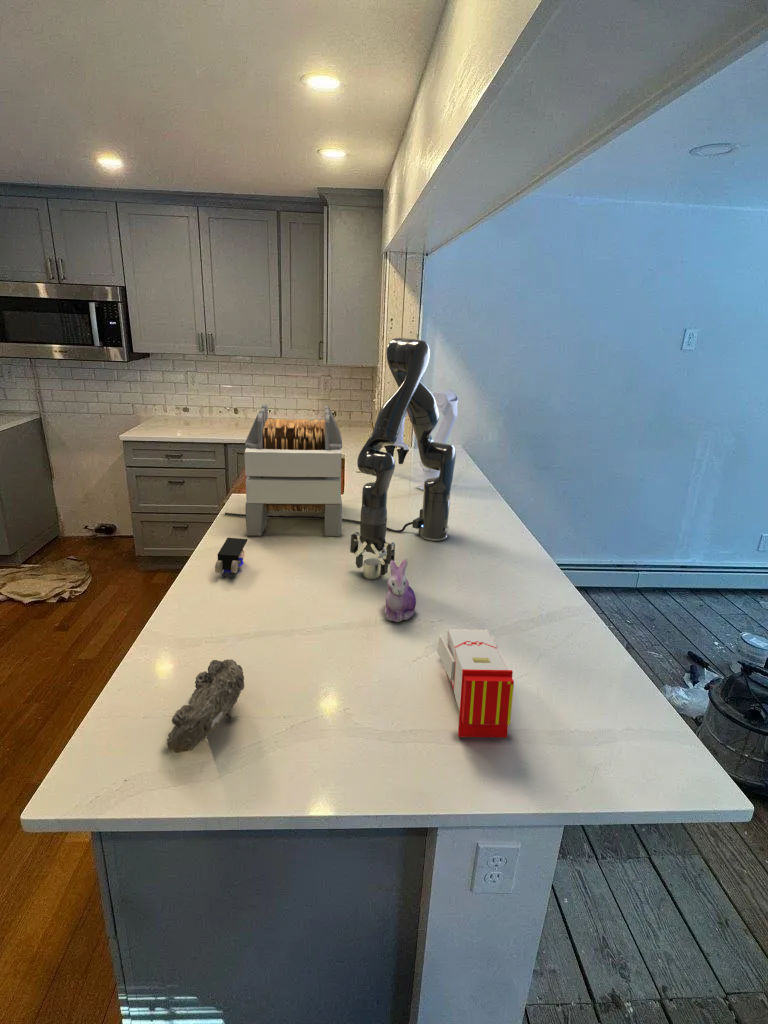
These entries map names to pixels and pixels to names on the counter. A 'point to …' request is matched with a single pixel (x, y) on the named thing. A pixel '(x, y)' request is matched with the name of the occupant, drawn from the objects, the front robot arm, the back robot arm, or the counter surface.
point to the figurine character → (230, 556)
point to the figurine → (399, 594)
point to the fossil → (206, 705)
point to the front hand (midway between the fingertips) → (371, 570)
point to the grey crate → (293, 470)
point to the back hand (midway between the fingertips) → (395, 461)
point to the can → (371, 568)
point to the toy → (478, 682)
